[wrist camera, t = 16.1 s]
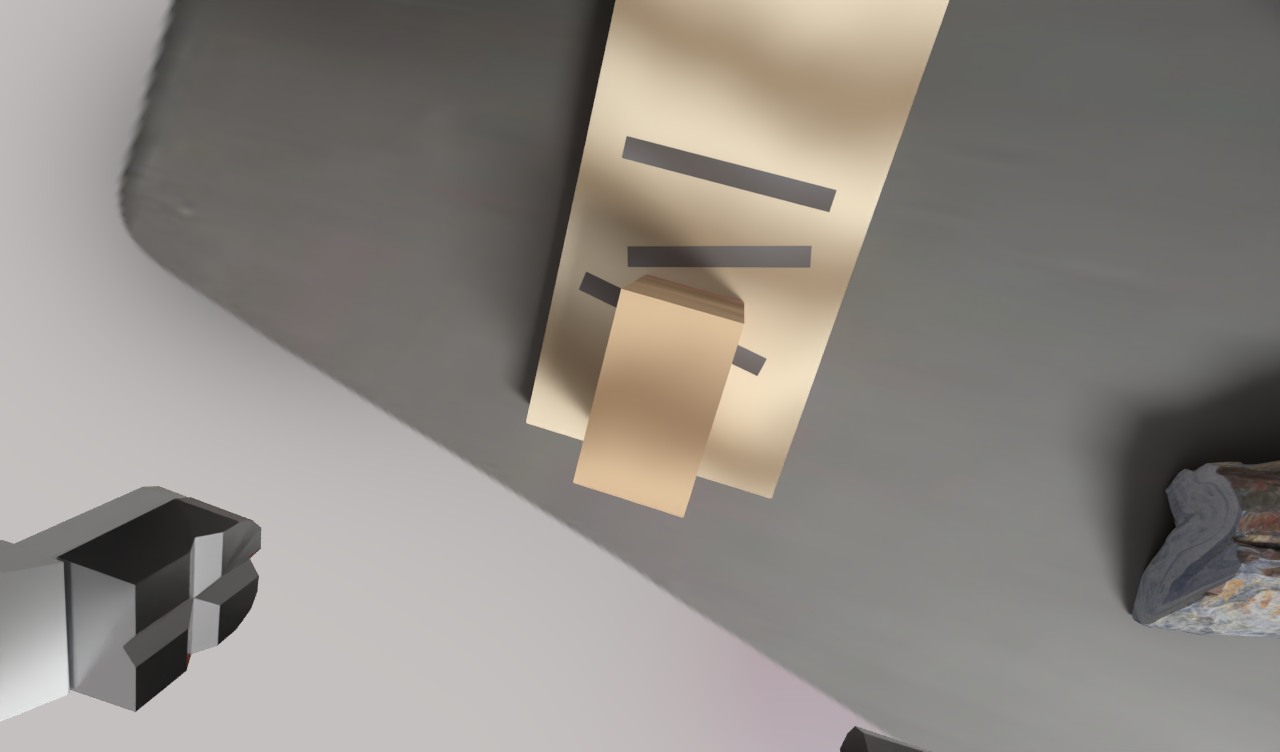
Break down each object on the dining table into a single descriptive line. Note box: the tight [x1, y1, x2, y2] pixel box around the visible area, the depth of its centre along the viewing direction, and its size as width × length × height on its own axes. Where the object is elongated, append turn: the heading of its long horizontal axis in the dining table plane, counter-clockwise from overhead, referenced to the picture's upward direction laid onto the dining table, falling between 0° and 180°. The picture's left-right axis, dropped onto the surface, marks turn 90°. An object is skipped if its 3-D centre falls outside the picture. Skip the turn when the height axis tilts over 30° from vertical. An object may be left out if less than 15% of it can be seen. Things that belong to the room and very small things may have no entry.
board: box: [526, 0, 949, 498], centre depth 23 cm, size 20×11×2 cm, turn 166°
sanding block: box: [573, 275, 744, 518], centre depth 22 cm, size 7×4×5 cm, turn 166°
